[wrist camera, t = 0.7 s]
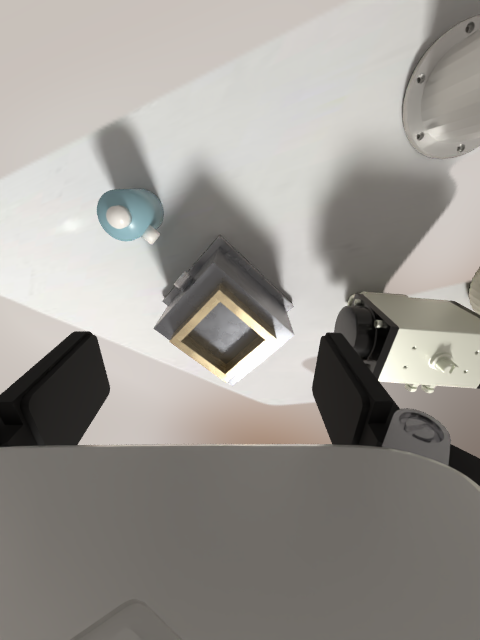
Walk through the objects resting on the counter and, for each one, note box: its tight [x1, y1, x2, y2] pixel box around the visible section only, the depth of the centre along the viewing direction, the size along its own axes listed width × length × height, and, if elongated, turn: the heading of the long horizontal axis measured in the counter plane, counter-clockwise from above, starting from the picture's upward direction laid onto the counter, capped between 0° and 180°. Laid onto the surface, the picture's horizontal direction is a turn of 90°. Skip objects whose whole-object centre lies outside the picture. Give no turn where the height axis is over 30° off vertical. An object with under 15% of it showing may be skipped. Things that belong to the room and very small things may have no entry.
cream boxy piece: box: [334, 292, 480, 393], centre depth 35 cm, size 18×8×18 cm, turn 86°
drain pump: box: [97, 189, 164, 245], centre depth 33 cm, size 6×7×9 cm
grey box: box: [154, 235, 294, 386], centre depth 37 cm, size 14×17×12 cm
